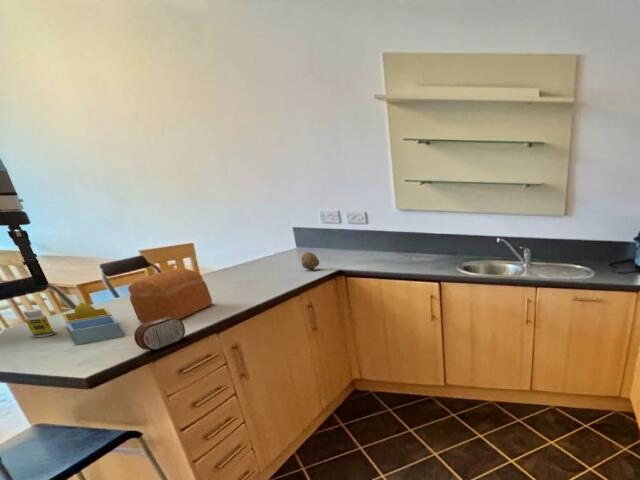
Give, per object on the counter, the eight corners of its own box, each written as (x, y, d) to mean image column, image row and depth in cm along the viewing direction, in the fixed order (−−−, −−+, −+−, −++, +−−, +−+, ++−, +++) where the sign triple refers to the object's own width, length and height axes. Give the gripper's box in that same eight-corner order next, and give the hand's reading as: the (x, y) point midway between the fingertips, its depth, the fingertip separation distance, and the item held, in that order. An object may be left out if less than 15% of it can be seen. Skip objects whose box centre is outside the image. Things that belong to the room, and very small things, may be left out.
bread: (216, 303, 174) (205, 265, 167) (174, 323, 151) (158, 280, 144) (183, 303, 174) (169, 265, 166) (134, 323, 150) (117, 279, 143)
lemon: (100, 326, 145) (90, 304, 141) (78, 328, 143) (68, 306, 139) (104, 321, 149) (94, 300, 146) (83, 324, 147) (73, 302, 143)
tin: (182, 337, 139) (173, 312, 135) (190, 337, 138) (182, 313, 134) (139, 354, 125) (128, 327, 122) (148, 354, 125) (137, 328, 121)
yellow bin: (68, 326, 146) (62, 314, 144) (110, 319, 153) (105, 307, 151) (72, 334, 139) (65, 321, 137) (116, 326, 147) (111, 314, 145)
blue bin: (73, 336, 138) (66, 322, 136) (117, 328, 145) (112, 315, 143) (77, 344, 131) (70, 330, 129) (124, 335, 139) (118, 322, 137)
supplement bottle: (37, 338, 135) (24, 313, 132) (31, 336, 137) (18, 311, 133) (57, 334, 139) (44, 309, 135) (50, 331, 141) (38, 307, 137)
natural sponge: (323, 269, 242) (320, 251, 238) (315, 272, 234) (312, 253, 230) (308, 268, 243) (305, 250, 238) (300, 271, 235) (296, 253, 230)
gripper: (28, 213, 120) (61, 286, 130) (22, 207, 134) (52, 273, 144) (-11, 214, 115) (27, 290, 124) (-14, 208, 129) (21, 276, 139)
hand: (40, 281), depth 134 cm, fingers open, 13 cm apart
